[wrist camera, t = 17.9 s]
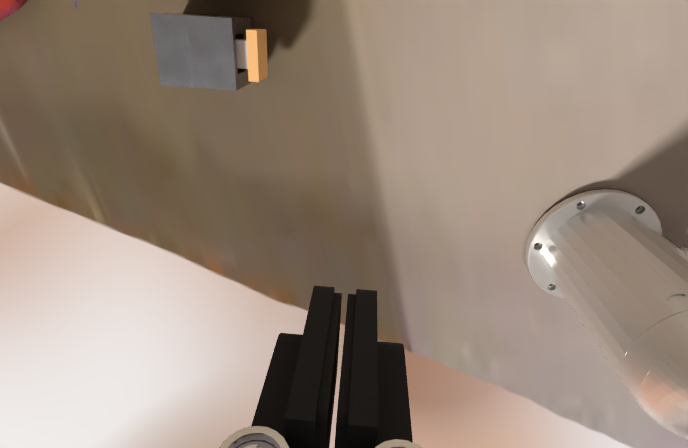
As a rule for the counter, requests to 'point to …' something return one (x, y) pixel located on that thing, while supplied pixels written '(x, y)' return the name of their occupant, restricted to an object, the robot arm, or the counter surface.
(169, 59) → the grey metal housing
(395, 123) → the counter surface
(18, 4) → the anatomical model
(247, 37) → the plunger
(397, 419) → the robot arm
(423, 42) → the counter surface
